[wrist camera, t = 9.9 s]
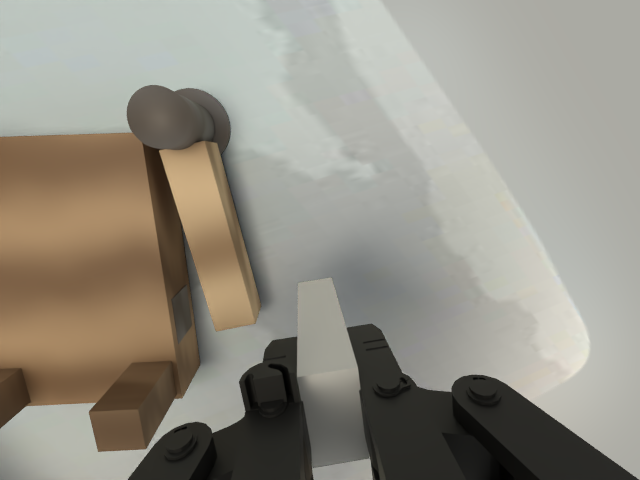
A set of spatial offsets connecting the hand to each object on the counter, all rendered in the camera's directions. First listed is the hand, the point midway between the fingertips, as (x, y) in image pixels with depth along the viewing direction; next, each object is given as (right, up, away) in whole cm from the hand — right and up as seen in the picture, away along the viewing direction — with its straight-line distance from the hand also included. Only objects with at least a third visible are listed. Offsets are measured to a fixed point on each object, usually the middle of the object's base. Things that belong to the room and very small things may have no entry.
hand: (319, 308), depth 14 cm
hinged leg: (-7, +5, +6) cm, 10 cm away
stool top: (-13, +3, +7) cm, 15 cm away
